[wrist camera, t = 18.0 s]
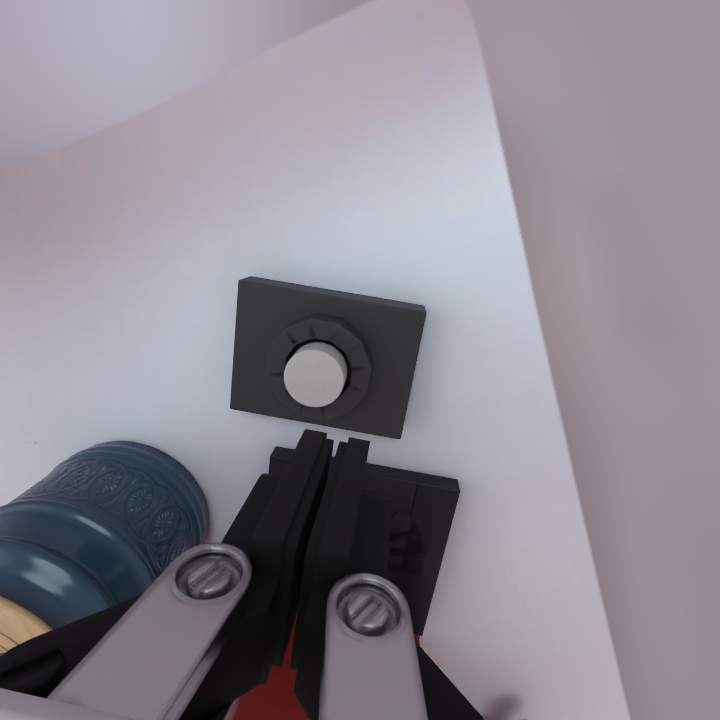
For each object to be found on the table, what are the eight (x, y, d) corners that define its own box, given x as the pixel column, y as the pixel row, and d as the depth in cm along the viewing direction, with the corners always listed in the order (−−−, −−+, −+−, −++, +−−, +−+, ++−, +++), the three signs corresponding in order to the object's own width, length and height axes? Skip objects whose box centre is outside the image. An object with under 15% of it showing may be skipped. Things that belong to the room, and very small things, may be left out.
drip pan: (457, 479, 33) (460, 490, 31) (421, 620, 37) (422, 636, 35) (275, 446, 33) (270, 455, 32) (260, 588, 37) (255, 603, 36)
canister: (31, 471, 36) (-294, 688, 19) (155, 411, 33) (-97, 602, 16) (121, 588, 39) (-92, 866, 22) (242, 542, 36) (104, 818, 19)
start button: (351, 347, 27) (347, 355, 25) (343, 400, 28) (339, 412, 26) (293, 337, 27) (286, 344, 25) (287, 391, 28) (280, 401, 26)
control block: (424, 305, 29) (428, 317, 25) (400, 425, 32) (400, 453, 28) (249, 275, 29) (227, 283, 26) (240, 397, 32) (219, 420, 28)
